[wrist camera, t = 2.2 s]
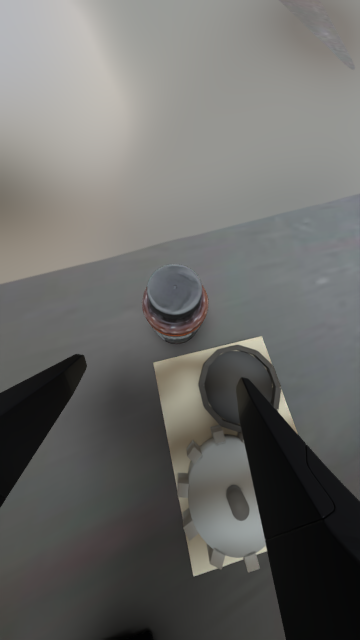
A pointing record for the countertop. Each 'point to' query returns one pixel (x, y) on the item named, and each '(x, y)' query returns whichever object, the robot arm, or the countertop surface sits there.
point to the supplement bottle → (175, 303)
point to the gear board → (195, 425)
